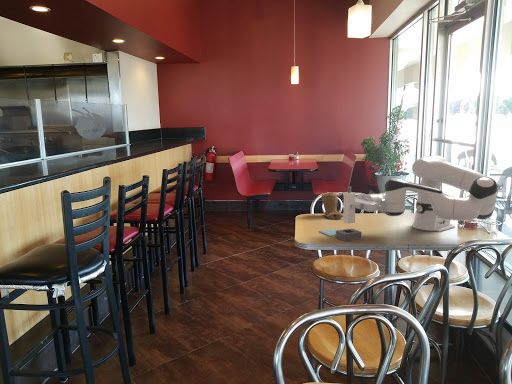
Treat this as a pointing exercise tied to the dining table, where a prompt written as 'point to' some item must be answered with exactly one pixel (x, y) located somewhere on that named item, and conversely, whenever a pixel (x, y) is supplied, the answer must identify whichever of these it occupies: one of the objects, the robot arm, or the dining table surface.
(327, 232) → the mat
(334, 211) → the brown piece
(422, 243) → the dining table surface
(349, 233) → the grey socket block
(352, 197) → the plug
